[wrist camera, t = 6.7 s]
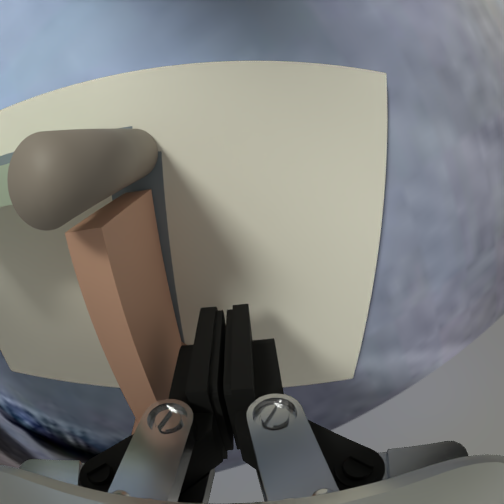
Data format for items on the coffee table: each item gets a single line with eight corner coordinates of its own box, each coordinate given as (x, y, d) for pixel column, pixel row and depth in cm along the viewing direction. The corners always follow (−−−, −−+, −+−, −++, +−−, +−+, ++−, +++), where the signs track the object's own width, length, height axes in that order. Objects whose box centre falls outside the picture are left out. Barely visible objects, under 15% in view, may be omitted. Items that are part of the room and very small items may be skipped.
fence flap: (106, 134, 9) (1, 145, 4) (155, 124, 9) (74, 119, 4) (159, 370, 13) (137, 472, 8) (197, 368, 13) (187, 476, 8)
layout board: (15, 365, 14) (11, 370, 13) (-47, 135, 8) (-55, 137, 8) (349, 370, 15) (353, 378, 14) (378, 75, 9) (386, 72, 9)
